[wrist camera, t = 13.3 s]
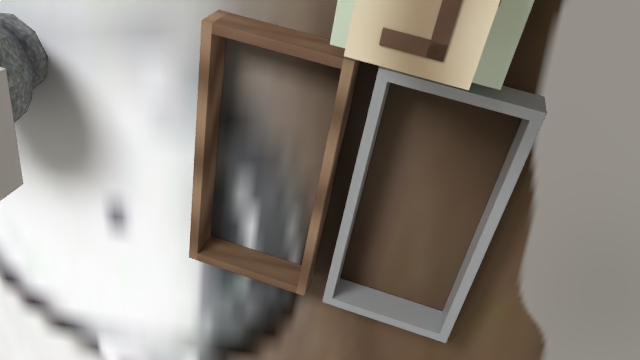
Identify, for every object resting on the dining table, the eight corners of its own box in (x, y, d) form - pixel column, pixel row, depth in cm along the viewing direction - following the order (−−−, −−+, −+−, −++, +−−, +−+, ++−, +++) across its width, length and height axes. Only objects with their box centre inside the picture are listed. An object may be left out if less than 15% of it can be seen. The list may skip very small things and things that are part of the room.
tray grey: (386, 54, 36) (378, 67, 34) (544, 96, 35) (546, 113, 33) (330, 281, 47) (322, 301, 45) (448, 320, 46) (445, 343, 44)
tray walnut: (218, 9, 38) (201, 20, 36) (363, 48, 36) (354, 61, 34) (202, 239, 49) (189, 257, 47) (313, 275, 47) (304, 295, 45)
